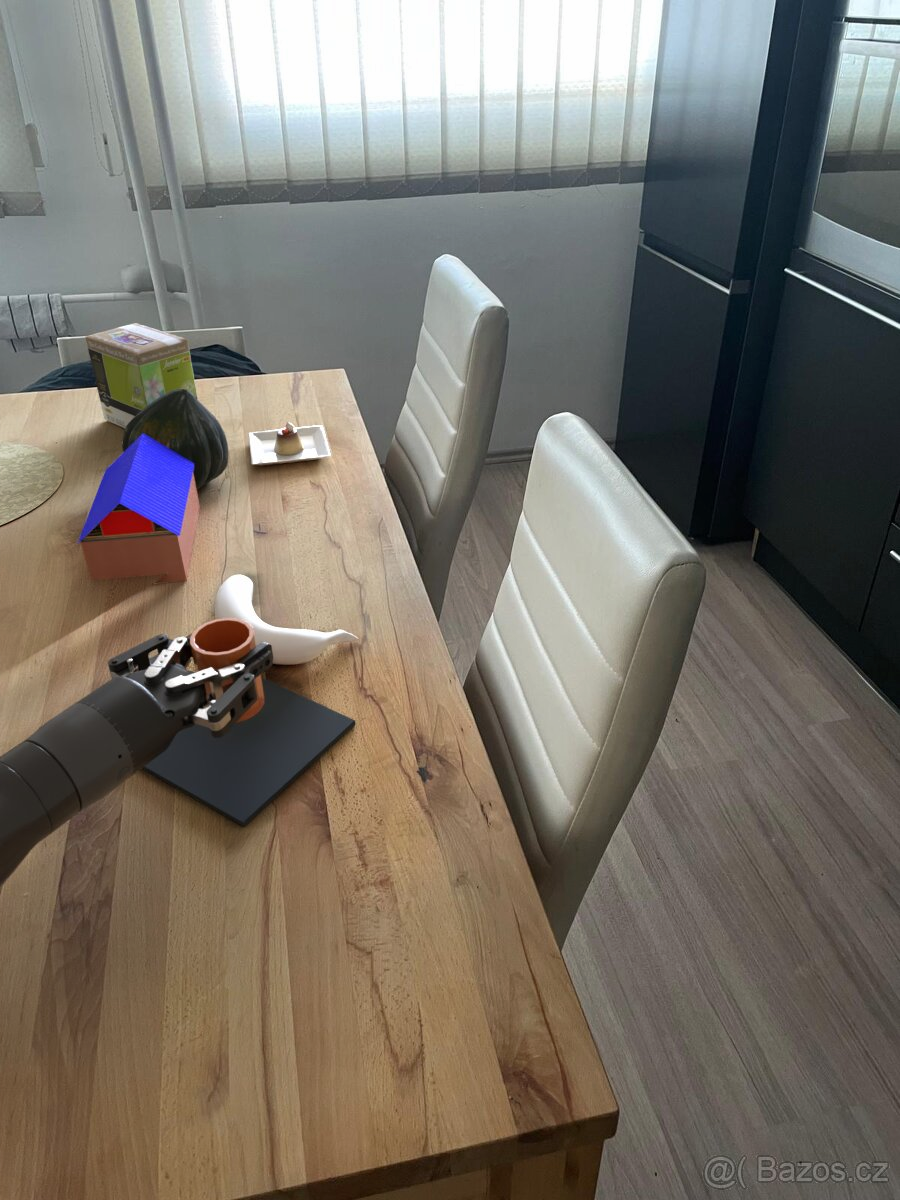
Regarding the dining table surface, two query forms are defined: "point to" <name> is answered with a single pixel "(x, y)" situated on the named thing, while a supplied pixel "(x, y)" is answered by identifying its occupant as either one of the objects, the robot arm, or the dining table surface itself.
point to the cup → (225, 652)
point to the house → (143, 515)
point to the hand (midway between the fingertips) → (244, 639)
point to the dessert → (288, 445)
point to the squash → (183, 432)
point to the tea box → (137, 369)
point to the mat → (251, 754)
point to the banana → (284, 642)
